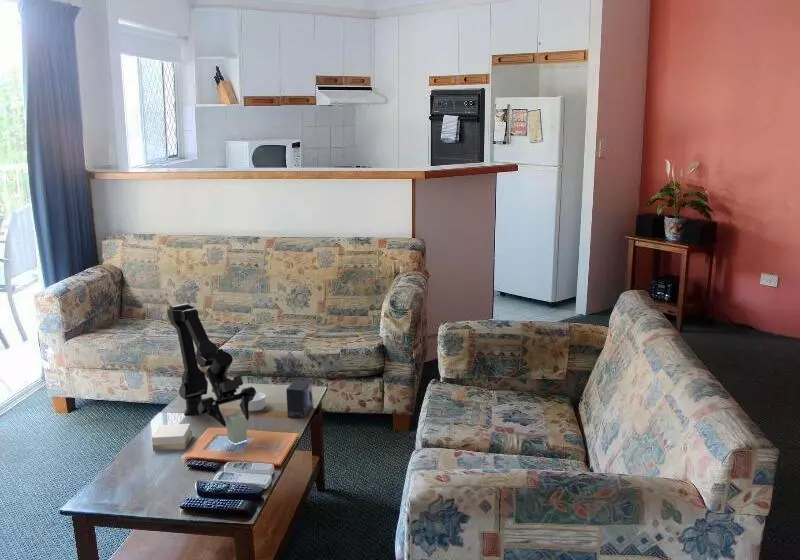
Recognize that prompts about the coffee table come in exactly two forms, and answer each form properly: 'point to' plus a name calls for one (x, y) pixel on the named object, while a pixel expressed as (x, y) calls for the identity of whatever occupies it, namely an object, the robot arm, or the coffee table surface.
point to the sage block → (236, 427)
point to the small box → (299, 398)
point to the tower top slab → (171, 434)
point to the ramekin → (257, 402)
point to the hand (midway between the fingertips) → (236, 422)
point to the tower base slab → (173, 445)
